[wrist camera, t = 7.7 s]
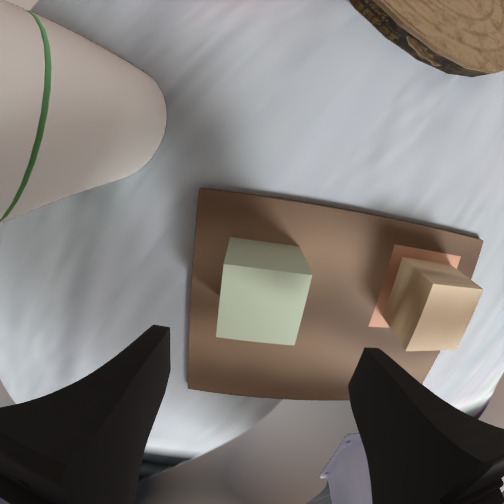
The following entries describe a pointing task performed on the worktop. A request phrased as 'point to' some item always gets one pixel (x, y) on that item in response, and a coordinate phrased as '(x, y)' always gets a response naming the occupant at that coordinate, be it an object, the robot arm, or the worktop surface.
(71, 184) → the cylindrical container
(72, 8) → the worktop surface
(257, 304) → the sage cube
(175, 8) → the worktop surface
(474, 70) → the wood slice
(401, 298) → the maple brick
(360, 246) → the brown flat board
